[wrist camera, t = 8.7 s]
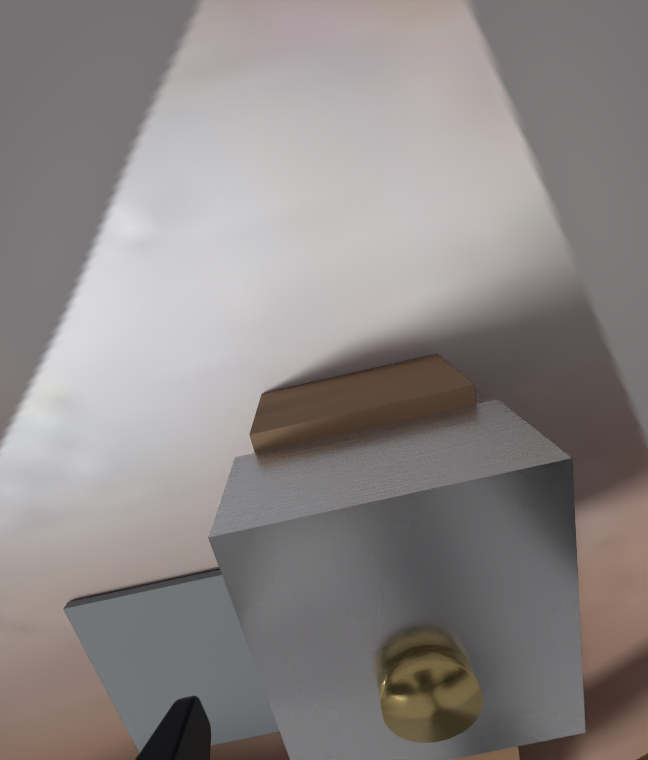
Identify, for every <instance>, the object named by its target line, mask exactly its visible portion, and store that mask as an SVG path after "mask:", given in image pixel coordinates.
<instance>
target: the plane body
mask: <svg viewBox="0 0 648 760" xmlns="http://www.w3.org/2000/svg"><path fill="white" fill-rule="evenodd" d="M472 404H477V402H476V394H475V386H474V384H473V383H472V382H471V381H470V380H468V379H467V378H466V377H465V376H463V375H462V374H461V373H460V372H458V371H457V370H456V369H455V368H454V367H452V366H451V365H450V364H449V363H447V362H446V361H445V360H444V359H442V358H441V357H440V356H439V355H437V354H435V355H430V356H426V357H422V358H417V359H413V360H408V361H404V362H400V363H395V364H391V365H386V366H382V367H377V368H373V369H369V370H364V371H360V372H355V373H351V374H347V375H342V376H338V377H333V378H329V379H325V380H320V381H316V382H311V383H307V384H302V385H298V386H294V387H289V388H285V389H280V390H276V391H272V392H267V393H263V394H262V395H261V398H260V401H259V405H258V408H257V411H256V415H255V418H254V421H253V425H252V428H251V431H250V438H251V441H252V445H253V448H254V451H255V453H257V452H261V451H266V450H270V449H275V448H279V447H284V446H288V445H293V444H297V443H302V442H306V441H311V440H315V439H320V438H324V437H329V436H333V435H338V434H342V433H347V432H351V431H356V430H360V429H365V428H369V427H374V426H378V425H383V424H387V423H392V422H396V421H401V420H405V419H410V418H414V417H418V416H423V415H427V414H432V413H436V412H441V411H445V410H450V409H454V408H459V407H463V406H468V405H472ZM452 760H520V758H519V749H518V746H517V747H512V748H507V749H502V750H497V751H492V752H487V753H482V754H477V755H472V756H467V757H462V758H457V759H452Z"/></svg>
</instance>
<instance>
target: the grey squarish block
mask: <svg viewBox="0 0 648 760" xmlns="http://www.w3.org/2000/svg"><path fill="white" fill-rule="evenodd" d="M208 538H209V541H210V544H211V546H212V549H213V552H214V554H215V557H216V560H217V563H218V565H219V568H220V571H221V573H222V576H223V579H224V582H225V584H226V587H227V590H228V592H229V595H230V598H231V601H232V603H233V606H234V609H235V611H236V614H237V617H238V620H239V622H240V625H241V628H242V630H243V633H244V636H245V639H246V641H247V644H248V647H249V649H250V652H251V655H252V658H253V660H254V663H255V666H256V668H257V671H258V674H259V677H260V679H261V682H262V685H263V687H264V690H265V693H266V696H267V698H268V701H269V704H270V706H271V709H272V712H273V715H274V717H275V720H276V723H277V725H278V728H279V731H280V734H281V736H282V739H283V742H284V744H285V747H286V750H287V753H288V755H289V758H290V760H452V759H457V758H462V757H467V756H472V755H477V754H482V753H487V752H492V751H497V750H502V749H507V748H512V747H517V746H522V745H527V744H532V743H537V742H542V741H547V740H552V739H557V738H562V737H567V736H572V735H577V734H582V733H586V732H585V712H584V691H583V671H582V650H581V630H580V609H579V589H578V568H577V548H576V527H575V506H574V486H573V465H572V458H571V457H570V456H569V455H567V454H566V453H565V452H564V451H562V450H561V449H560V448H559V447H557V446H556V445H555V444H554V443H552V442H551V441H550V440H548V439H547V438H546V437H545V436H543V435H542V434H541V433H540V432H538V431H537V430H536V429H535V428H533V427H532V426H531V425H529V424H528V423H527V422H526V421H524V420H523V419H522V418H521V417H519V416H518V415H517V414H516V413H514V412H513V411H512V410H510V409H509V408H508V407H507V406H505V405H504V404H503V403H502V402H500V401H499V400H498V399H495V400H490V401H486V402H481V403H477V404H472V405H468V406H463V407H459V408H454V409H450V410H445V411H441V412H436V413H432V414H427V415H423V416H418V417H414V418H410V419H405V420H401V421H396V422H392V423H387V424H383V425H378V426H374V427H369V428H365V429H360V430H356V431H351V432H347V433H342V434H338V435H333V436H329V437H324V438H320V439H315V440H311V441H306V442H302V443H297V444H293V445H288V446H284V447H279V448H275V449H270V450H266V451H261V452H257V453H252V454H248V455H244V456H239V457H235V460H234V462H233V465H232V468H231V471H230V474H229V477H228V480H227V483H226V486H225V489H224V492H223V495H222V498H221V501H220V504H219V507H218V510H217V513H216V516H215V519H214V522H213V525H212V528H211V531H210V534H209V537H208Z"/></svg>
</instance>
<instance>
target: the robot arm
mask: <svg viewBox="0 0 648 760" xmlns="http://www.w3.org/2000/svg"><path fill="white" fill-rule="evenodd" d="M210 747H211V726H210V722H209V719H208V717H207V715H206V712H205V710H204V708H203V706H202V703H201V701H200V699H199V697H197V696H189V697H184V698H180V699H178V700H176V701H175V702H174V703H173V704H172V706H171V707H170V709H169V710H168V712H167V713H166V715H165V716H164V718H163V719H162V721H161V722H160V724H159V725H158V727H157V728H156V730H155V731H154V733H153V734H152V735H151V737H150V738H149V740H148V741H147V743H146V744H145V746H144V747H143V749H142V750H141V752H140V753H139V755H138V756H137V758H136V759H135V760H210Z"/></svg>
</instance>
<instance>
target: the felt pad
mask: <svg viewBox="0 0 648 760" xmlns="http://www.w3.org/2000/svg"><path fill="white" fill-rule="evenodd" d="M64 611H65V613H66V615H67V617H68V619H69V621H70V623H71V625H72V627H73V628H74V630H75V632H76V634H77V636H78V638H79V640H80V642H81V644H82V646H83V647H84V649H85V651H86V653H87V655H88V657H89V659H90V661H91V663H92V664H93V666H94V668H95V670H96V672H97V674H98V676H99V678H100V680H101V682H102V683H103V685H104V687H105V689H106V691H107V693H108V695H109V697H110V699H111V701H112V702H113V704H114V706H115V708H116V710H117V712H118V714H119V716H120V718H121V719H122V721H123V723H124V725H125V727H126V729H127V731H128V733H129V735H130V737H131V738H132V740H133V742H134V744H135V746H136V748H137V750H138V752H139V753H140V752H141V750H142V749H143V747H144V746H145V744H146V743H147V741H148V740H149V738H150V737H151V735H152V734H153V733H154V731H155V730H156V728H157V727H158V725H159V724H160V722H161V721H162V719H163V718H164V716H165V715H166V713H167V712H168V710H169V709H170V707H171V706H172V704H173V703H174V702H175V701H176V700H178V699H180V698H184V697H189V696H197V697H199V699H200V701H201V703H202V706H203V708H204V710H205V712H206V715H207V717H208V719H209V722H210V726H211V746H212V745H217V744H222V743H227V742H232V741H237V740H242V739H247V738H251V737H256V736H261V735H266V734H271V733H276V732H280V731H279V728H278V725H277V723H276V720H275V717H274V715H273V712H272V709H271V706H270V704H269V701H268V698H267V696H266V693H265V690H264V687H263V685H262V682H261V679H260V677H259V674H258V671H257V668H256V666H255V663H254V660H253V658H252V655H251V652H250V649H249V647H248V644H247V641H246V639H245V636H244V633H243V630H242V628H241V625H240V622H239V620H238V617H237V614H236V611H235V609H234V606H233V603H232V601H231V598H230V595H229V592H228V590H227V587H226V584H225V582H224V579H223V576H222V573H221V571H220V570H215V571H210V572H206V573H201V574H196V575H192V576H187V577H183V578H178V579H173V580H169V581H164V582H159V583H155V584H150V585H145V586H141V587H136V588H132V589H127V590H122V591H118V592H113V593H108V594H104V595H99V596H94V597H90V598H85V599H81V600H76V601H71V602H68V603H67V604H66V606H65V607H64Z"/></svg>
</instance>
